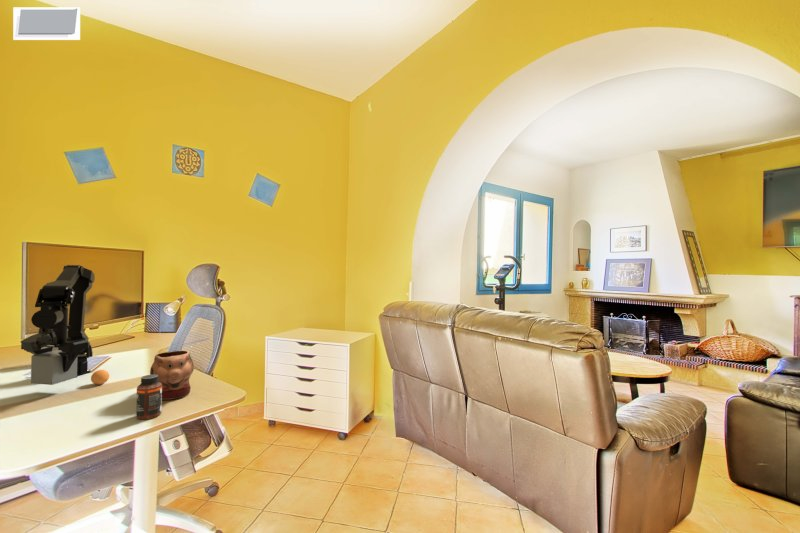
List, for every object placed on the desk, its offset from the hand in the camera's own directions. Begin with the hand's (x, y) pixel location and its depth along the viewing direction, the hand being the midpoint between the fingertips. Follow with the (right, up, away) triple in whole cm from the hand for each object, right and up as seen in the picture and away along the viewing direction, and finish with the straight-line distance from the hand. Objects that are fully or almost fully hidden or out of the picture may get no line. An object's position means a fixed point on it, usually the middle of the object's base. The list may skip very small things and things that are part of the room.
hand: (54, 370), depth 117 cm
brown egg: (+7, -5, +9) cm, 13 cm away
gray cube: (0, -3, 0) cm, 3 cm away
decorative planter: (+37, -9, +2) cm, 38 cm away
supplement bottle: (+41, -9, -15) cm, 45 cm away
